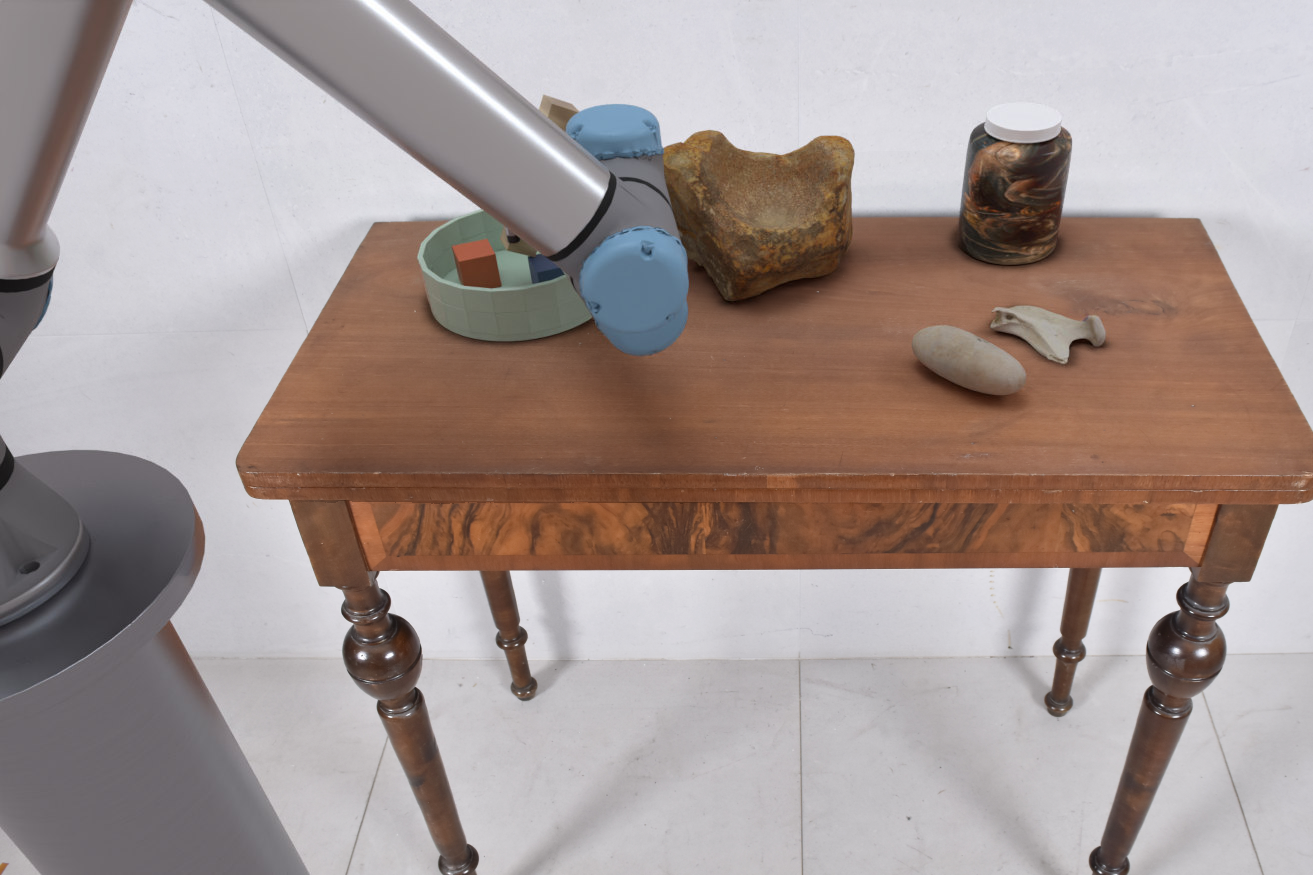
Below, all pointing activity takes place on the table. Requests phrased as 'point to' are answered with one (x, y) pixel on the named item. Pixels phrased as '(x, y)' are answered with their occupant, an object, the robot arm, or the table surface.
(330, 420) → the table surface
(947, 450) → the table surface
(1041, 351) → the fossil
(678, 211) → the rough brown rock
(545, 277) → the slate block
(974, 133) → the jar
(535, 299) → the bowl
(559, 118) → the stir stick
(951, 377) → the stone
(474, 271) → the terracotta block
